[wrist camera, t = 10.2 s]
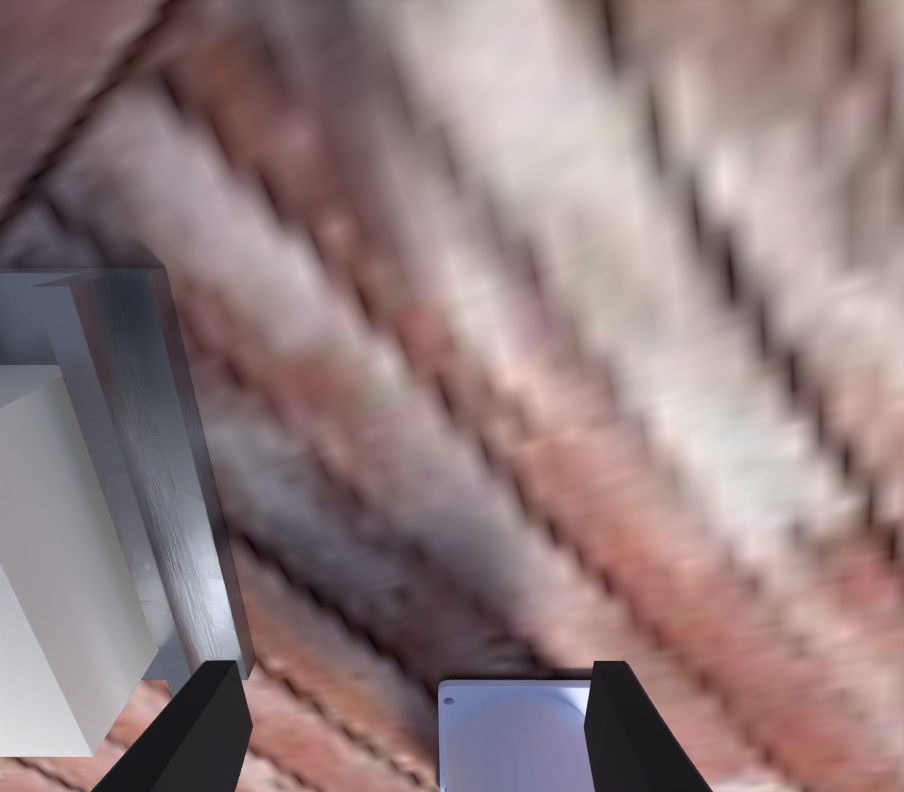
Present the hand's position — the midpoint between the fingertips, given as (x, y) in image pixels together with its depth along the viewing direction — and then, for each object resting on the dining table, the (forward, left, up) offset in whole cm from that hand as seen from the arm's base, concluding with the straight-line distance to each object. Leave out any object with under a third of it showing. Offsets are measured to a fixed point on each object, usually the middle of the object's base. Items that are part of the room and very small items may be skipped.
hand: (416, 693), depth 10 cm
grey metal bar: (-2, +13, -8) cm, 16 cm away
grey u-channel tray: (-2, +13, -9) cm, 16 cm away
